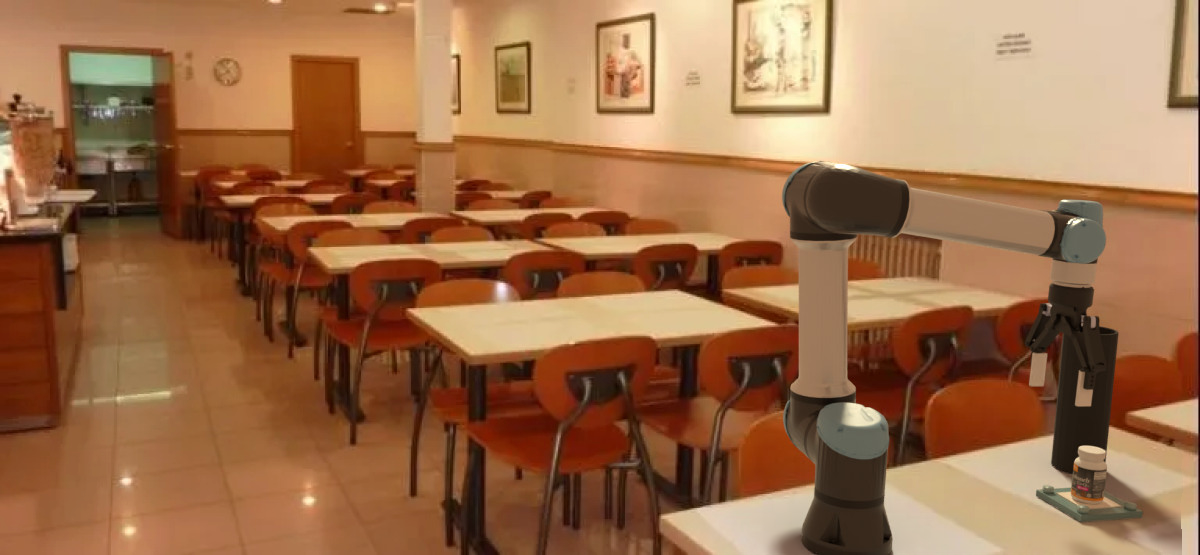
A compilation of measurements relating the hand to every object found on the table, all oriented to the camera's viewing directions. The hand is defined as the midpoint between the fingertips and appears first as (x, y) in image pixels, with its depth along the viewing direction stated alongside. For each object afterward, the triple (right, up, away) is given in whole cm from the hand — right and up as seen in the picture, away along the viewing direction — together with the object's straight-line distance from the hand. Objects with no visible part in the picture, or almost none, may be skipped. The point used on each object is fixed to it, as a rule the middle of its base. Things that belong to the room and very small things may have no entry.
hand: (1058, 395), depth 184 cm
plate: (+7, -21, +3) cm, 23 cm away
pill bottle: (+7, -20, +3) cm, 22 cm away
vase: (+15, -18, +24) cm, 34 cm away
